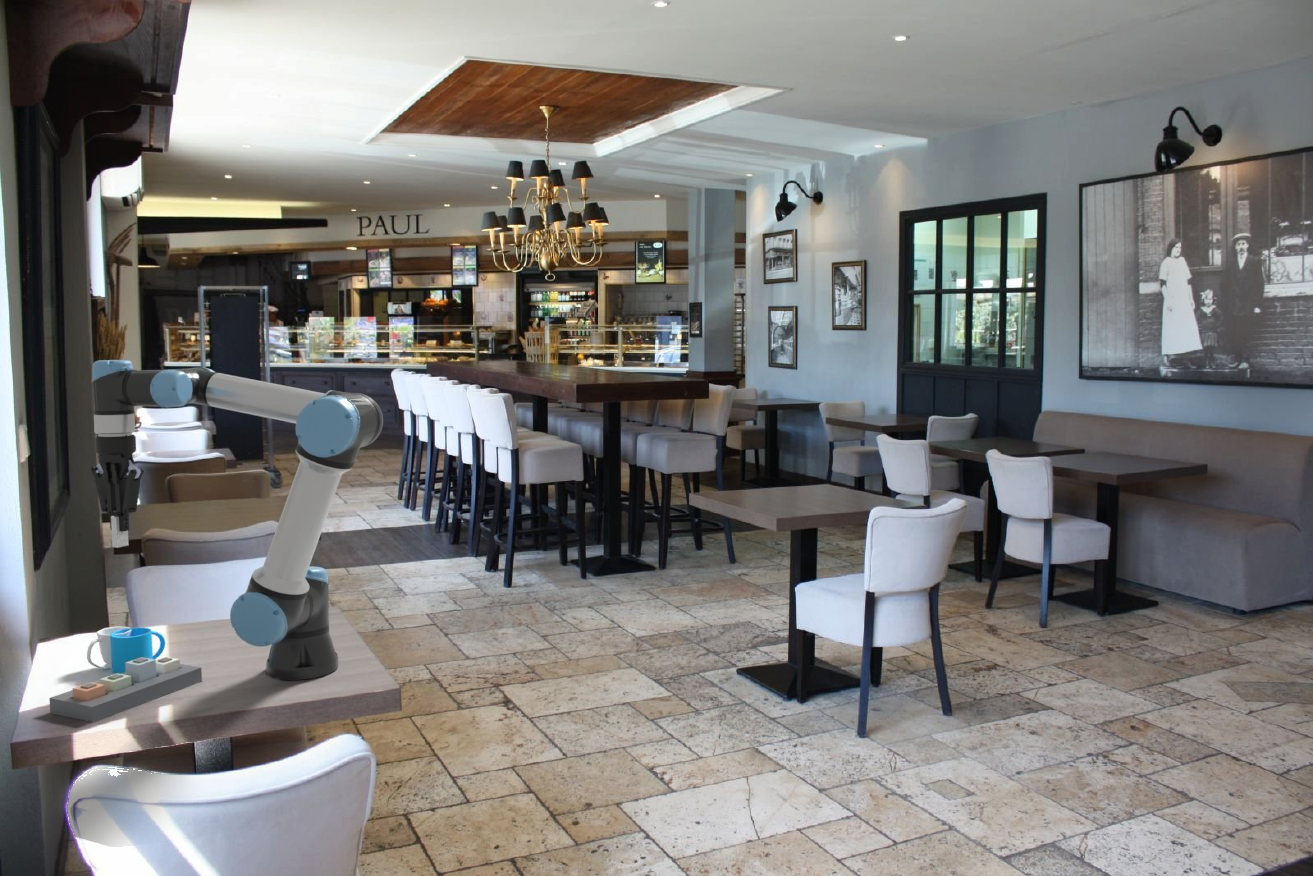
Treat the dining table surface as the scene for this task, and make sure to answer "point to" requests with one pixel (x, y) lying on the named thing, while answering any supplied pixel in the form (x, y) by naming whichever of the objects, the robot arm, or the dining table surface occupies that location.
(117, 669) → the mug
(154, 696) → the grey board
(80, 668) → the dining table surface
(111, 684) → the pale green square block
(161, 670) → the key ivory
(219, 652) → the dining table surface
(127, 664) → the key blue
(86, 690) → the orange hollow cube
